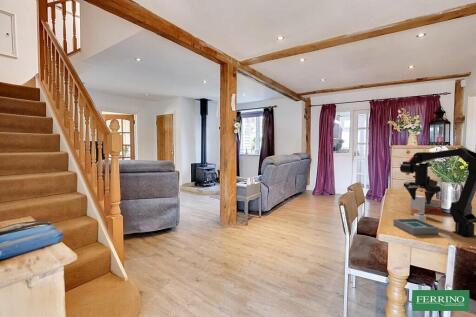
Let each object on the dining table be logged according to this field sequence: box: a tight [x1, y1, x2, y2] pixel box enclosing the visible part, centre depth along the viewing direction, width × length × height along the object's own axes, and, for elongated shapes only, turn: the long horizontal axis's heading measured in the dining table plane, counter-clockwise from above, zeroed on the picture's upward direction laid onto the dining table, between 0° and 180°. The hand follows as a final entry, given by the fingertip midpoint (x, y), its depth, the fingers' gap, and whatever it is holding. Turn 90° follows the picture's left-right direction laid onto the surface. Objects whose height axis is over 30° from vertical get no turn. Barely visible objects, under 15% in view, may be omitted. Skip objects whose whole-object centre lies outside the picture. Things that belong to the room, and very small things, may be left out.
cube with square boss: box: [413, 213, 427, 223], centre depth 135 cm, size 4×4×6 cm
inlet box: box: [393, 218, 439, 236], centre depth 125 cm, size 14×13×4 cm
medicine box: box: [424, 197, 442, 215], centre depth 158 cm, size 15×8×8 cm, turn 57°
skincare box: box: [409, 194, 426, 215], centre depth 149 cm, size 6×4×12 cm
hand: (420, 201), depth 136 cm, fingers open, 9 cm apart
